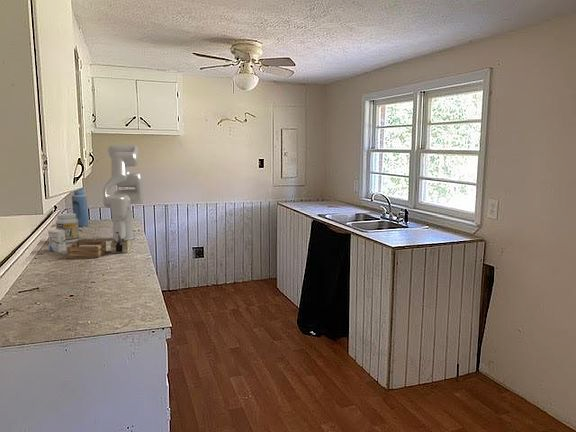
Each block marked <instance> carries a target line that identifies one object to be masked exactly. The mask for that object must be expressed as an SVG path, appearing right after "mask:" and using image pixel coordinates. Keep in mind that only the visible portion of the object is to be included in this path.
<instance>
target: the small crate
mask: <svg viewBox="0 0 576 432" xmlns="http://www.w3.org/2000/svg"><path fill="white" fill-rule="evenodd" d="M119 241H120V240H119ZM121 244H122V252H116V240H114V239H113V240H112V241H111V242H110V253H111V254H129V253H130V252H131V240H122V242H121Z"/></svg>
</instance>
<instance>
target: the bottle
mask: <svg viewBox="0 0 576 432" xmlns="http://www.w3.org/2000/svg"><path fill="white" fill-rule="evenodd" d="M71 203H72V213H74V214H76V218H77V219H78V228H83V226H85V227H88V226H89V214H88V213H89V211H88V199H87V194H85V192H84V186H83V187H82V188H81V189H79V190H77V191H74V190H73V195H71Z"/></svg>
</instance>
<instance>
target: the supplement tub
mask: <svg viewBox="0 0 576 432" xmlns="http://www.w3.org/2000/svg"><path fill="white" fill-rule="evenodd" d="M56 216H57V217H56V218H57V219H56V221H55V223H56V225H55V227H56V229H59V230H64V231H65V243H66V244H70V243H72V244H73V243H75V242H79V239H80V234H79V232H80V230H79V227H78V219H77V218H76V214H74V213H73V212H70V213H68V212H67V213H59V214H57V215H56Z"/></svg>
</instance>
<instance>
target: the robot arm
mask: <svg viewBox="0 0 576 432" xmlns="http://www.w3.org/2000/svg"><path fill="white" fill-rule="evenodd" d="M107 152H108V155H109V157H110V159H111V163H110V164H111V169H110V171H111V177H110V178H109V180H108V181H107V182H106V183H105V184H104V187H103V189H102V191H103V192H102V203H103V206H104V207H105V208H107V209H111V221H112V239H113V240H116V252H122V244H121V242H122V240H130V241H132V240H135V239H136V238H137V237H136V235H134V223H133V222H134V221H133V211H132V208H130V205H141V204H142V203H143V201H144V186H143V175H142V174H141V173H140V172H138V171H130V167H137V166H138V163H139V157H140V155H139V154H140V153H139V148H138V146H137V145H134V144H112V145H109V146H108V148H107ZM114 186H117V187H118V188H124V189H117V190H115V191H114V192H113V194H109V193H110V190H111V189H112V188H113V187H114ZM126 188H127V189H126ZM129 188H132V189H129ZM119 240H120V241H119Z"/></svg>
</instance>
